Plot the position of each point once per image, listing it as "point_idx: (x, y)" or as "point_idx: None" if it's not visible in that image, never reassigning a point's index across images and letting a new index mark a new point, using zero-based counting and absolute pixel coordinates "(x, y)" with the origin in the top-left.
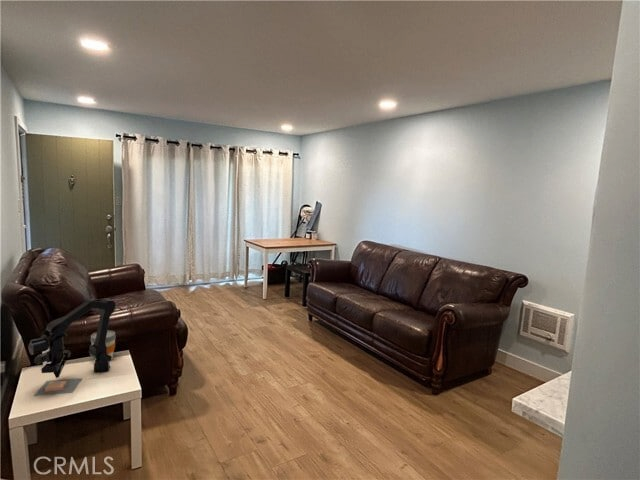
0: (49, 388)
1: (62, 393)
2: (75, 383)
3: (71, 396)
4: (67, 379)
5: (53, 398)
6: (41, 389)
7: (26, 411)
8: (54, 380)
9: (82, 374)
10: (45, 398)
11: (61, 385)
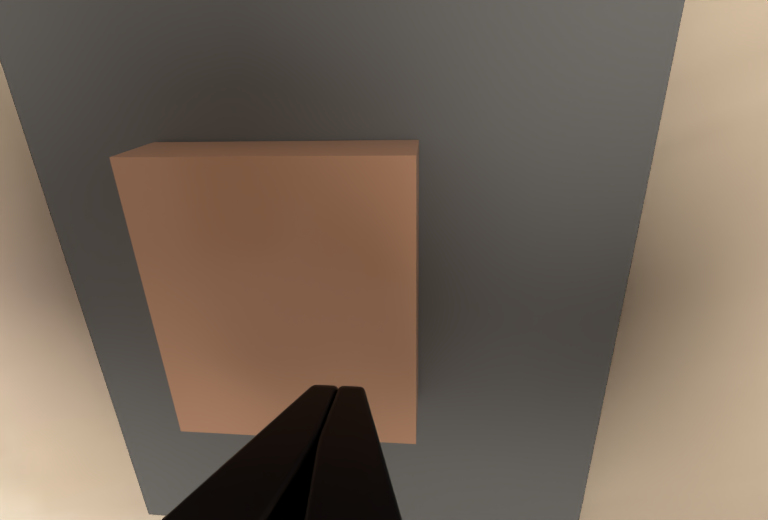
0: (135, 240)
1: (119, 417)
2: (406, 498)
3: (103, 497)
4: (595, 368)
5: (26, 325)
6: (239, 17)
7: None
8: (638, 139)
9: (754, 500)
10: (5, 215)
11: (239, 411)
